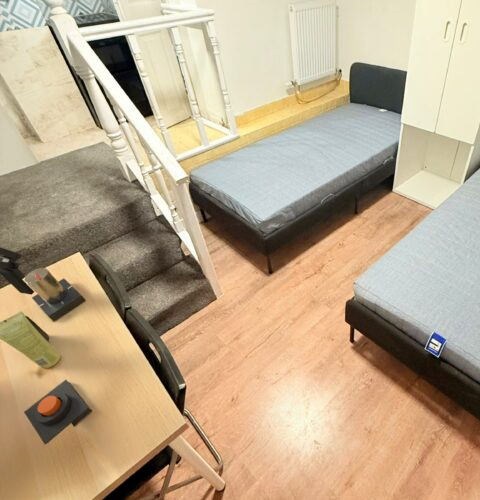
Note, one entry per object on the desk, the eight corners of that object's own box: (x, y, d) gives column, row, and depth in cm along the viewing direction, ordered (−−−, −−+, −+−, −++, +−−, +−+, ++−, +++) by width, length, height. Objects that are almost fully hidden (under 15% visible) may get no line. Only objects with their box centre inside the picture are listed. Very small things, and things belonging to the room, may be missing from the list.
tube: (49, 349, 96) (2, 309, 82) (66, 350, 95) (21, 310, 82) (36, 368, 92) (-16, 329, 78) (53, 369, 91) (3, 330, 78)
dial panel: (37, 303, 108) (30, 297, 106) (69, 283, 114) (63, 277, 111) (53, 322, 102) (47, 316, 100) (86, 300, 108) (81, 294, 106)
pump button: (39, 409, 80) (34, 405, 79) (57, 395, 83) (52, 392, 81) (47, 419, 79) (41, 416, 77) (64, 405, 81) (59, 402, 79)
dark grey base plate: (29, 414, 83) (18, 408, 80) (70, 382, 88) (61, 376, 86) (50, 447, 78) (39, 441, 75) (92, 410, 83) (83, 404, 80)
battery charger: (34, 339, 98) (8, 317, 90) (49, 334, 99) (24, 312, 91) (32, 359, 94) (4, 338, 86) (47, 353, 95) (21, 331, 87)
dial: (42, 297, 106) (20, 276, 98) (61, 285, 109) (42, 264, 102) (50, 306, 103) (28, 285, 96) (70, 294, 106) (50, 272, 99)
